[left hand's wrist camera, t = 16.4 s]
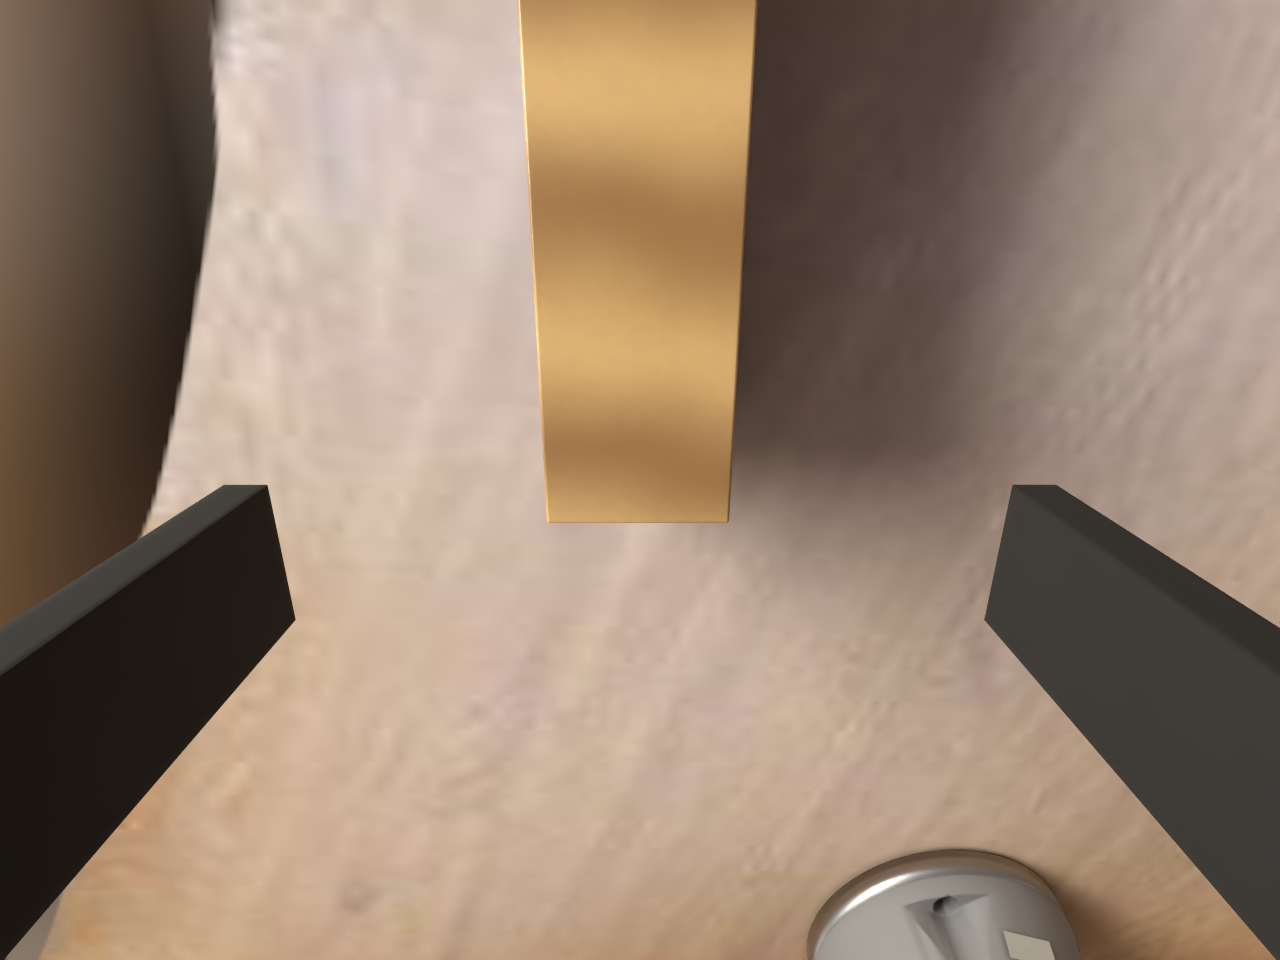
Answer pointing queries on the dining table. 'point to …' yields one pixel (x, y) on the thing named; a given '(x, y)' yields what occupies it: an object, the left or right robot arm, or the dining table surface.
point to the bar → (637, 249)
